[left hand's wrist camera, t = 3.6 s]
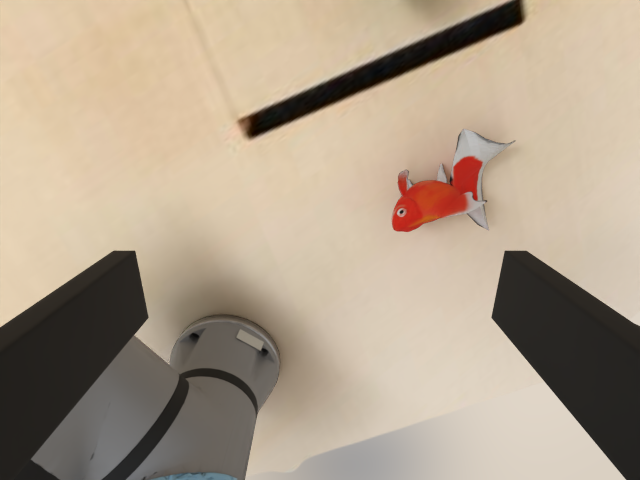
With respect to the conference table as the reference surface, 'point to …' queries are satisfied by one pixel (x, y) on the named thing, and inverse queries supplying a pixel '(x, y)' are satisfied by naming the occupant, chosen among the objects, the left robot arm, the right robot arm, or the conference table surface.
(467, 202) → the fish
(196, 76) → the conference table surface
